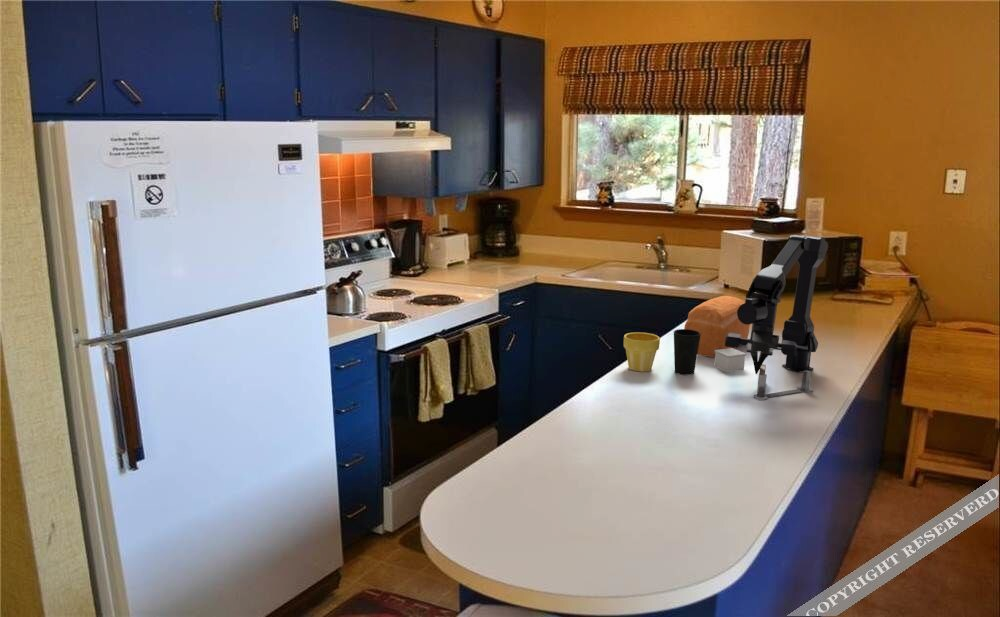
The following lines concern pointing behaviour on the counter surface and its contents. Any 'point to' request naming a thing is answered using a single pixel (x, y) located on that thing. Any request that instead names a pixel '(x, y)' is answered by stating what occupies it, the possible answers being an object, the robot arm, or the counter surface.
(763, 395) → the hinge post
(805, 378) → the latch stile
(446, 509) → the counter surface
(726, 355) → the base block
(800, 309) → the robot arm
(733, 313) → the bread
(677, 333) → the cup
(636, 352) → the plant pot
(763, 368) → the gate
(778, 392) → the strip
